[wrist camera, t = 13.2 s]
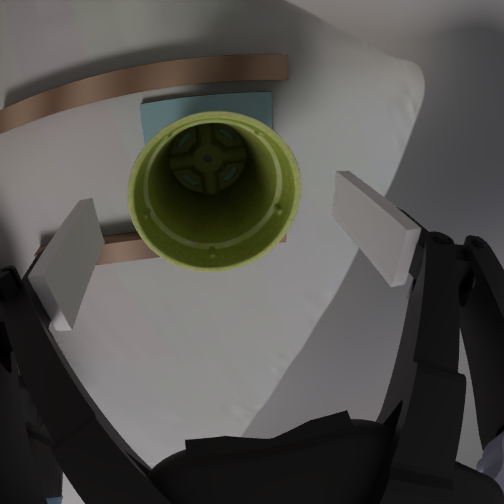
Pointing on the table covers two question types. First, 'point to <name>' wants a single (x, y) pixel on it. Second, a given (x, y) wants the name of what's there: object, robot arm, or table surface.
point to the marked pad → (174, 109)
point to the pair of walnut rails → (133, 82)
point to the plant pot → (214, 191)
